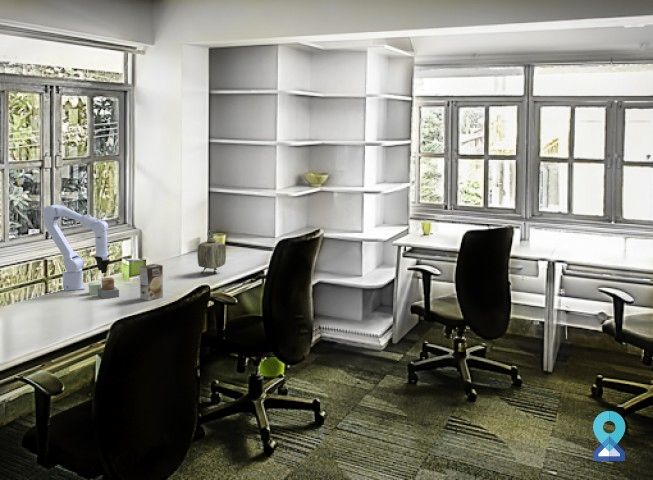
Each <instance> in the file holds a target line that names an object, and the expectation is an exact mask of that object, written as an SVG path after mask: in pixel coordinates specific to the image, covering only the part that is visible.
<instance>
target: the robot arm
mask: <svg viewBox="0 0 653 480" xmlns="http://www.w3.org/2000/svg"><path fill="white" fill-rule="evenodd" d="M42 216H43V221H44V226H45V228H46V230H47V232H48V234H49V235H50V236H51V237H50V238H52V240H53V242H54V243H55V246H56V247H57V249H58V250H59V251H60V253H61V254H62V257H63V258H62V262H63V265H64V268H65V270H66V271H64V272H62V288H63V290H64V291H65V292H69V291H78V290H85V289H86V287H85V286H84V285H83V284H84V281H83V267H84V265H85V260H84V259H83V258H82V257H81V256H80V255H79V254H78V252H76V251H74V250H73V249H72V246H71V245H70V243H69V242H68V240H67V239H66V237H65V235H64V233H63V231H62V230H61V229H60V226H59V225H58V222H59V220H60V218H61V217H67V218H70V219H72V220H75V221H78V222H79V223H80V225H81V226H83V227H84V228H85V227H86V228H88V229H90V230H92V231H93V232H94V241H95V244H94V245H95V254H94V256H93V257H94V260H95V261H96V265H97V268H98V271H100V272H101V274H106V273H107V271H108V266H109V264H110V262H111V260H110V259H108V256H110V255H111V253H110V252H108V230H109V227H110V226H109V223H108V222H107V221H106V220H103V219H102V220H100V218H96V217H93V216H92V215H91V214H84V215H83V214H81V213H78V212H76V211H74V210H73V209H71V208H69V207H66V206H65V205H64V204H63V205H62V204H60V203H54V204H52V205H46V207H44V209H43V212H42Z"/></svg>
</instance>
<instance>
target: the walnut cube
mask: <svg viewBox="0 0 653 480" xmlns="http://www.w3.org/2000/svg"><path fill="white" fill-rule="evenodd" d="M114 287H115V279H114V277H102V278H101V288H102V289H103V290H114Z"/></svg>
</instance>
